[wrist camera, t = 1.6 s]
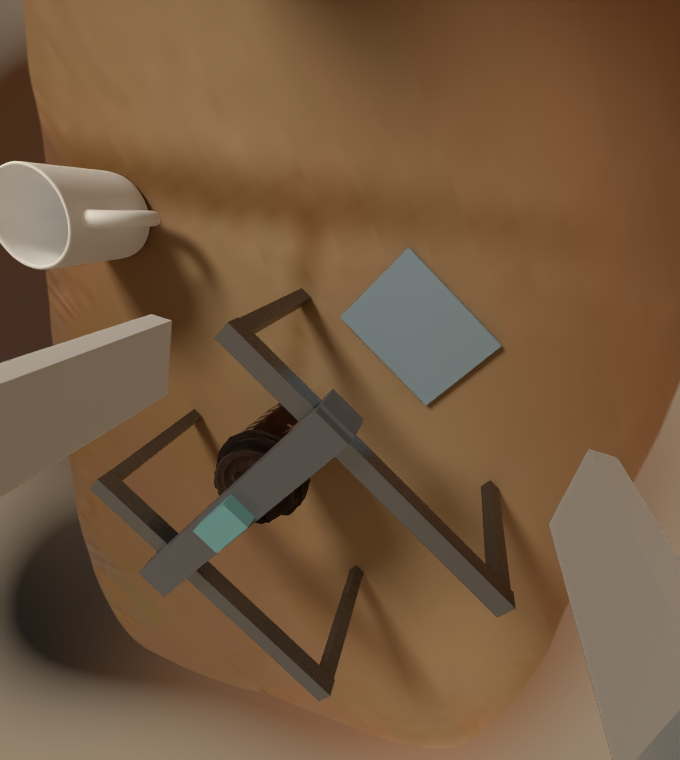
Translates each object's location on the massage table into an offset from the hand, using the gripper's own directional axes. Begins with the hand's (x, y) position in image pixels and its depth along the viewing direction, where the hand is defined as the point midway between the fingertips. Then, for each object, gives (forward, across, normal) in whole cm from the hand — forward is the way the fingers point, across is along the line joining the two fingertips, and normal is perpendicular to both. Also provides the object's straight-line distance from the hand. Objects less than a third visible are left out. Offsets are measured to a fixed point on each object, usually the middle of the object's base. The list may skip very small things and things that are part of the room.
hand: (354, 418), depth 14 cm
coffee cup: (+29, -9, -18) cm, 35 cm away
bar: (+15, -9, -18) cm, 25 cm away
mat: (+29, 0, -4) cm, 29 cm away
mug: (+29, -30, -1) cm, 42 cm away
